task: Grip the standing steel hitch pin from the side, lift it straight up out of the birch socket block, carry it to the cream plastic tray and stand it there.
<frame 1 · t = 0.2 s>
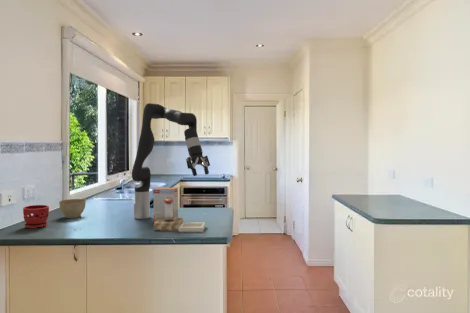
hand: (201, 174, 192), 31 cm above the worktop, tool tilted 20°, fingers open, 8 cm apart
hitch pin: (168, 213, 201), in the socket block
cracker box: (166, 221, 217), on the worktop
planter bowl: (73, 217, 233), on the worktop
tray: (192, 229, 196), on the worktop
socket block: (168, 227, 201), on the worktop
plant pot: (36, 227, 205), on the worktop
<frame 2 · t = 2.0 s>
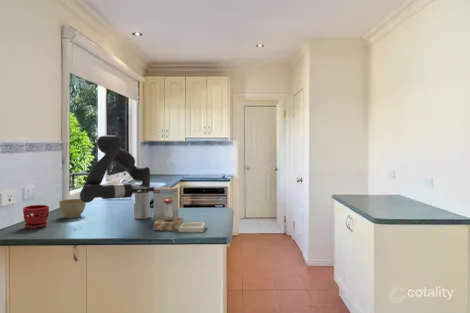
hand: (150, 188, 193), 23 cm above the worktop, tool horizontal, fingers open, 8 cm apart
nothing on the worktop moved.
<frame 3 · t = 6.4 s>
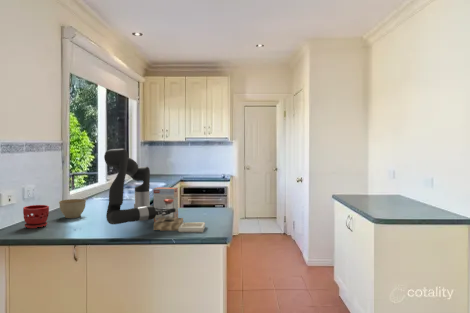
hand: (172, 209, 203), 10 cm above the worktop, tool horizontal, fingers closed on hitch pin, 4 cm apart
hitch pin: (168, 213, 201), in the socket block, touching gripper
everything else where it was.
when the fingers open (12 cm above the worktop, at t = 11.8 s): hitch pin drops 1 cm, resting on tray.
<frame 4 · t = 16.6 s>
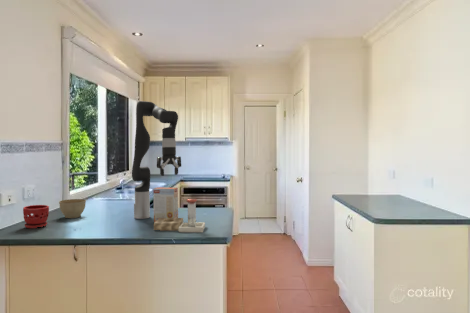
hand: (169, 175, 198), 30 cm above the worktop, tool pointing down, fingers open, 8 cm apart
hitch pin: (191, 213, 196), in the tray, point 9 cm above the worktop
everything else where it was.
at the end: hitch pin inside the target area on the tray (0.1 cm from its centre), point 8.8 cm above the tray's base; hitch pin touching tray; the gripper is holding nothing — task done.
